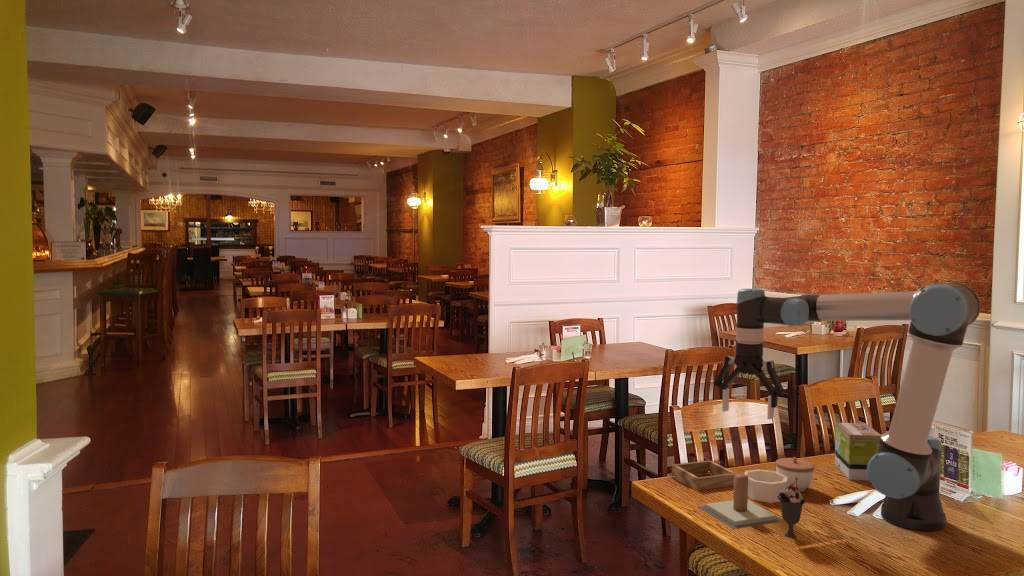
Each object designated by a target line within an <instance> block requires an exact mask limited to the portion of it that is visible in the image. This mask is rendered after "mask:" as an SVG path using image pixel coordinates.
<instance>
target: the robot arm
mask: <svg viewBox="0 0 1024 576" xmlns="http://www.w3.org/2000/svg"><path fill="white" fill-rule="evenodd" d="M765 292H766V291H765V290H764V289H762V288H740V289H739V290H738V291H737V298H736V326H735V327H736V329H735V341H737V342H736V343H735V357H733V356H732V355H728V356H725V357H724V361H723V362H724V364H723V365H722V367H721V369H720V371H719V373H718V374H717V376H716V379H715V380H714V382H713V385H714V386H715V387H718V388H719V390H720V391H719V399H720V400H722V409H721V411H722V412H724V413H725V412H728V411H729V410H730V409H729V408H730V388H728V386H730V384H731V383H732V382H733V381H734V380H735V379H736V378H737V377H738V376H739V375H740V374H742V375H748V376H749V375H750V376H754V375H755V377H756V378H758V380H759V381H760V382H761V384H762V385H763V386H764V388H765V389H766V390H767V392H768V394H769V395H768V396H767V420H773V419H774V417H775V408H777V407H778V397H779V396H782V395H784V394H785V389H784V387H783V384H782V383H781V380H780V378H779V376H778V373H777V371H776V368H775V362H774V360H767V361H764V359H763V356H764V344H763V342H764V328H765V327H764V326H765V325H764V324H773V325H775V324H776V325H784V326H789V327H795V326H796V327H798V326H799V327H802V326H804V325H805V324H806V322H830V321H831V322H835V321H836V322H841V321H842V322H843V321H846V322H849V321H850V322H851V321H853V322H855V321H857V322H858V321H861V322H862V321H870V322H871V321H876V322H877V321H910V324H909V328H908V331H907V334H908V335H909V337H910V339H911V340H912V343H911V347H910V351H909V354H908V358H907V362H906V366H905V369H904V373H903V377H902V381H901V384H900V388H899V392H898V397H897V399H896V403H895V406H894V407H895V408H894V411H893V415H892V418H891V422H890V425H889V430H888V431H886V432H884V433H882V434H881V436H880V440H879V443H878V447H877V451H876V454H875V455H874V456H872V458H871V459H870V461H869V463H868V465H867V475H868V478H869V481H868V482H870V483H871V485H872V486H873V488H874V489H875V490H876V491H878V492H879V493H880V494H881V495H884V500H883V502H882V504H881V507H880V516H881V518H882V519H884V520H885V521H887V522H888V523H890V524H893V525H896V526H898V527H901V528H904V529H905V528H906V529H909V530H910V529H911V530H915V531H916V530H917V531H923V532H924V531H925V532H926V531H928V532H932V531H940V530H943V529H945V528H946V525H947V517H946V514H945V512H944V509H943V504H942V501H941V497H940V488H941V466H942V453H943V450H942V442H941V441H940V439H938V438H937V437H934V436H931V435H930V434H931V430H932V426H933V422H934V420H935V415H936V412H937V409H938V405H939V400H940V398H941V394H942V391H943V388H944V387H943V386H944V384H945V380H946V377H947V374H948V369H949V366H950V363H951V358H952V356H953V355H952V354H953V351H954V350H957V349H959V348H960V347H962V346H963V344H964V340H965V336H966V334H967V329H968V327H969V326H970V325H971V324H973V323H974V322H975V321H976V320H977V319H978V317H979V315H980V314H981V309H982V307H981V306H982V305H981V299H980V297H979V296H978V294H977V293H976V291H975V290H974V289H973V288H971V287H970V286H968V285H966V284H963V283H959V282H945V283H935V284H930V285H927V286H923V287H922V286H921V287H920V288H919V289H917V291H914V290H913V291H892V292H891V291H890V292H886V291H885V292H865V293H864V292H862V293H858V292H857V293H834V294H833V293H832V294H801V295H797V296H789V297H788V296H787V297H779V296H778V297H775V296H766V294H765ZM732 364H735V366H736V367H735V368H734V370H732V372H731V373H730V374H729V375H728V376H727V377H726V375H727V374H728V372H729V370H730V368H731V366H732ZM763 367H764V368H765V369H766V371H767V373H768V376H769V378H770V380H771V381H770V380H769V378H768V377H767V375H766V374H765V371H764V370H763V369H762V368H763ZM725 377H726V378H725ZM724 379H725V380H724Z"/></svg>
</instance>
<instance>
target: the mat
mask: <svg viewBox="0 0 1024 576" xmlns="http://www.w3.org/2000/svg"><path fill="white" fill-rule="evenodd" d="M697 508H699V509H700V510H702V511H703V512H705V513H707V514H709V516H711V517H713V518H715V520H716V519H717V520H718V521H719V522H721V523H723V524H724V525H726V526H728V527H729V528H731V529H733V530H737V529H744V528H751V527H757V526H763V525H764V526H765V525H769V524H776V523H783V522H785V521H784V520H783V518H780V517H778V516H776V520H772V521H765V522H758V523H752V524H745V525H738V526H734V525H732V524H731V523H729V522H727V521H726V520H724V519H722V518H721V517H719V516H718V515H716V514H714V513H713V512H711V511H709V510H708V509H706V505H704V506H703V505H701V506H698V507H697Z"/></svg>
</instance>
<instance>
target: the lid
mask: <svg viewBox="0 0 1024 576" xmlns="http://www.w3.org/2000/svg"><path fill="white" fill-rule="evenodd" d="M748 498H749V497H748V476H747V475H744V473H737V474H735V475H734V486H733V499H732V500H725V501H718V502H710V503H709V502H708V503H705V506H706V509H708V510H709V511H711V512H713V513H714V514H716V515H718V516H719V517H721V518H722V519H724V520H726V521H727V522H729V523H731V524H732V525H734V526H738V525H745V524H752V523H758V522H765V521H772V520H776V517H777V515H776V514H775V513H772V512H771V511H769V510H768V509H765V508H764V507H762V506H760V505H759V504H756V503H755V502H753V501H751V500H749V499H748Z"/></svg>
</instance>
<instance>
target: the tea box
mask: <svg viewBox="0 0 1024 576" xmlns="http://www.w3.org/2000/svg"><path fill="white" fill-rule="evenodd" d="M881 435H882V434H881V433H880V432H878V431H877V430H875V429H874V428H873V427H872V426H870V425H869V424H868V423H865V422H864V423H862V422H861V423H859V422H857V423H856V422H835V437H834V439H835V446H834V450H835V451H834V465H835V466H836V467H837V468H838V469H839V471H840V472H841V473H842V474H843V475H844V476H845V477H846V478H847V480H849V481H861V480H862V481H865V482H866V481H867V482H870V481H869V478H868V475H867V465H868V463H869V461H870V459H871V458H872V456H874V455H875V454H876V451H877V447H878V443H879V440H880V436H881Z"/></svg>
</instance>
